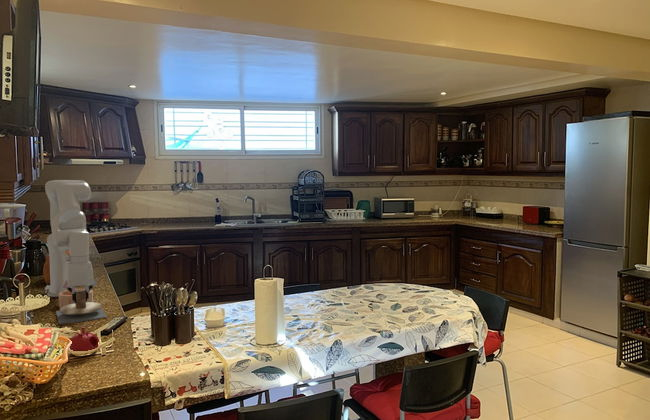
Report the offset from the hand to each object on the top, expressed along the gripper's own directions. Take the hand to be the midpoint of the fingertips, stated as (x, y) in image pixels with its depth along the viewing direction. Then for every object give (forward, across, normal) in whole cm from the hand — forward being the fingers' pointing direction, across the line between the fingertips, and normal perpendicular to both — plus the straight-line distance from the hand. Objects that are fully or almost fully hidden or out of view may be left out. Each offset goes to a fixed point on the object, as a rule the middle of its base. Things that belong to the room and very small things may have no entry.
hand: (80, 300), depth 212 cm
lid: (+4, 0, 0) cm, 4 cm away
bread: (+7, -2, +84) cm, 84 cm away
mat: (+6, 0, 0) cm, 6 cm away
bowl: (+6, 0, +20) cm, 21 cm away
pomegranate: (+7, -4, -50) cm, 51 cm away
